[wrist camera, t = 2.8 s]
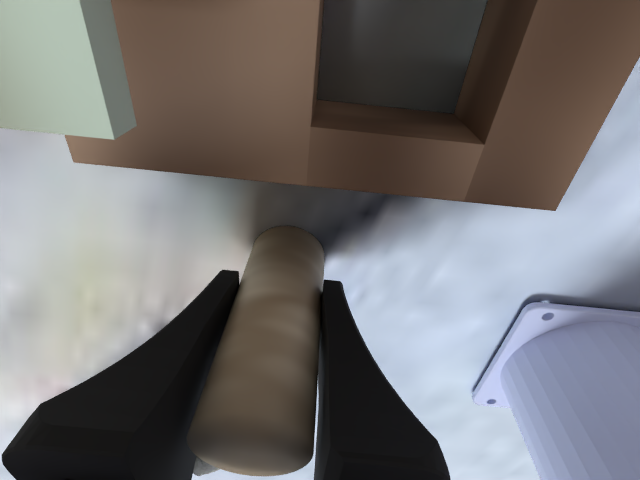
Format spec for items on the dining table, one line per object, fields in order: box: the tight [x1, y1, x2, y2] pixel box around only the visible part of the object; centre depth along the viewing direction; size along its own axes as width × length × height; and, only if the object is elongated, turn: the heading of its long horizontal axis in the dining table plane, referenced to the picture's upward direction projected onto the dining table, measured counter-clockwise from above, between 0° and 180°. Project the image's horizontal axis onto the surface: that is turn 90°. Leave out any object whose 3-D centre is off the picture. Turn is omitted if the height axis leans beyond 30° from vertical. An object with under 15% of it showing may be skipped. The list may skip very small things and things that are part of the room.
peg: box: [187, 226, 325, 476], centre depth 12 cm, size 3×3×8 cm
